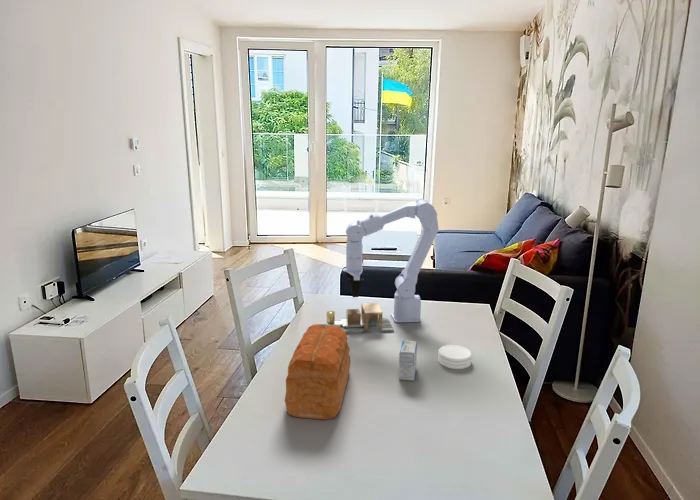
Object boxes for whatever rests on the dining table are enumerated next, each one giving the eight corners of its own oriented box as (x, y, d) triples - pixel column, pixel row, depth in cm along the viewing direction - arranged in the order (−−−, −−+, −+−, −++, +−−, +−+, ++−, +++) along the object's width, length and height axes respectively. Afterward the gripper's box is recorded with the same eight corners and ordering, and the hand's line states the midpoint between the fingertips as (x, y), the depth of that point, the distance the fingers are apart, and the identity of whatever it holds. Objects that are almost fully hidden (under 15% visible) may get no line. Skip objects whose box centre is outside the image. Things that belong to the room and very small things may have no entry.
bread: (351, 368, 142) (352, 320, 138) (338, 422, 116) (339, 365, 112) (304, 364, 143) (304, 317, 140) (281, 417, 118) (280, 361, 114)
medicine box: (414, 381, 135) (415, 353, 132) (398, 379, 136) (399, 351, 133) (416, 368, 142) (417, 341, 140) (400, 366, 143) (402, 339, 141)
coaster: (457, 373, 140) (457, 362, 139) (430, 360, 147) (431, 350, 146) (478, 363, 146) (479, 352, 145) (451, 351, 153) (452, 341, 152)
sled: (363, 320, 173) (363, 308, 172) (365, 326, 168) (366, 314, 166) (326, 321, 171) (326, 309, 170) (327, 328, 166) (327, 315, 165)
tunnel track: (387, 319, 177) (388, 301, 175) (393, 332, 166) (394, 313, 165) (338, 321, 175) (338, 303, 173) (341, 334, 164) (342, 314, 162)
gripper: (340, 252, 178) (340, 286, 181) (345, 263, 164) (345, 300, 168) (359, 251, 179) (359, 286, 182) (366, 262, 165) (365, 299, 168)
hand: (353, 293), depth 175 cm, fingers open, 7 cm apart
